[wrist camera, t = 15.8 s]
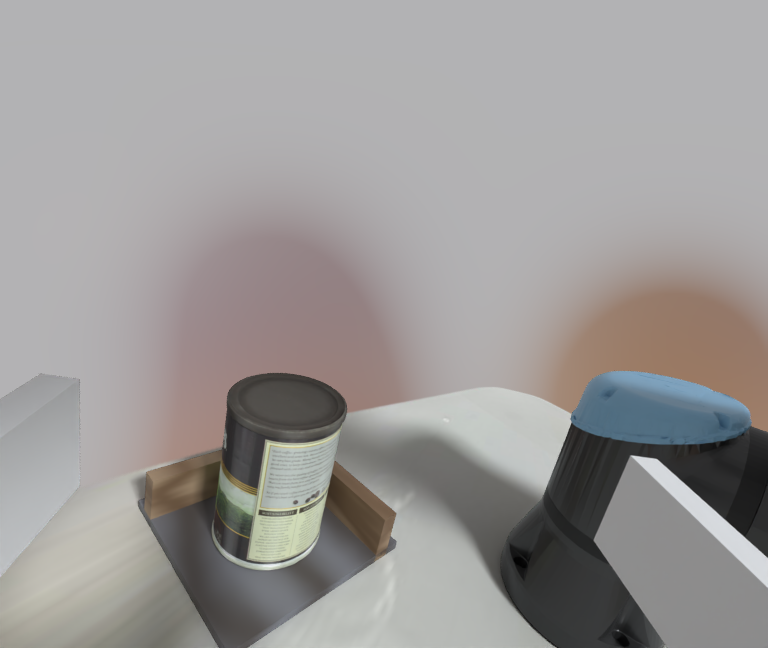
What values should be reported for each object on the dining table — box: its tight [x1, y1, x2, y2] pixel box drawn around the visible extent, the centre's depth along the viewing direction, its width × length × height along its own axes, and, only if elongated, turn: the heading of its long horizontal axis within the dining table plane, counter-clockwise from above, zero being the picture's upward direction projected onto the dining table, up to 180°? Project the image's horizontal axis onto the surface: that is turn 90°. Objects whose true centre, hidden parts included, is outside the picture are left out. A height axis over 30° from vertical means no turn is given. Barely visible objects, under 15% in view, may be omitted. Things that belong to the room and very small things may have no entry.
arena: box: [139, 450, 396, 648], centre depth 42 cm, size 18×18×5 cm
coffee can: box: [212, 373, 347, 570], centre depth 40 cm, size 10×10×14 cm
